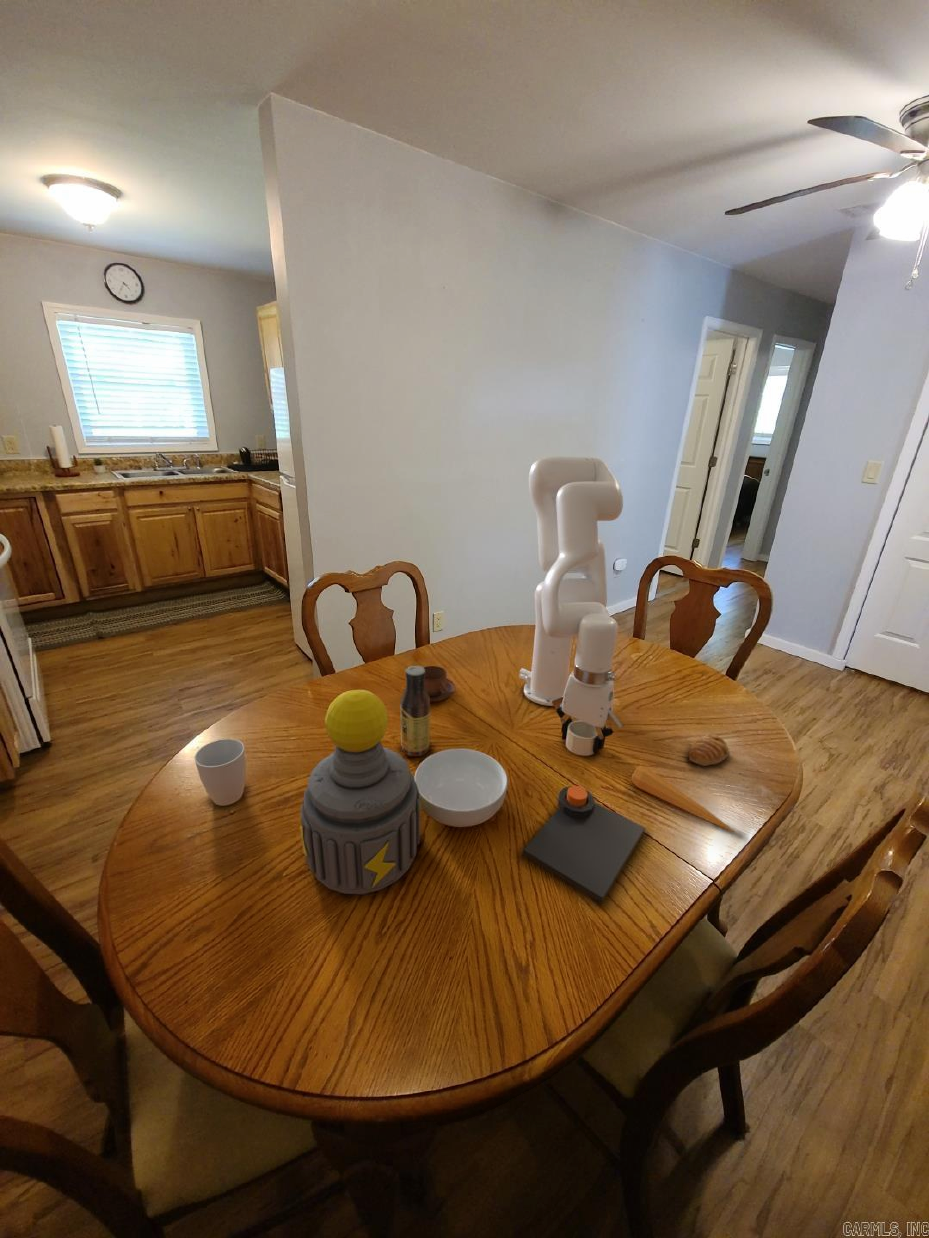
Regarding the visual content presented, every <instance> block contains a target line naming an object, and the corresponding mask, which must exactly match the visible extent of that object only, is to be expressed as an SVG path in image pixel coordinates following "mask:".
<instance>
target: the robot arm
mask: <svg viewBox="0 0 929 1238" xmlns="http://www.w3.org/2000/svg"><path fill="white" fill-rule="evenodd" d="M528 490H529V491H528V492H529V496H530V500H531V503H532V506H533V510H534V512H535V515H536V525H537V527H536V528H537V529H536V531H537V549H538V562H539V566H540V568H541V570H542V571H543V572H545V573H547V574H546V575H545V578H544V580H543V581H541V582H539V584H538V585H537V586H535V587H536V588H535V590H534V608H535V627H534V628H535V629H534V641H533V650H532V660H531V661H532V663H531V671H530V670H528V669H525V668H523V667H522V668H520V670H519V675H518V679H519V680H521V681H525V684H524V686H523V694H524V696H525V697H526V698H527V699H528V700H529V701H531V702H532V703H535V704H537V705H541V706H547V707H554V709H555V711H556V714H557V715H558V717H559V718H560V723H561V730H560V732H561V733H562V734H561V739H562V740H566V737H567V730H568V725H569V724H570V723H571V722H573V721H574V720H573V718H574V719H576V720H577V721H583V722H586V723H588V724H591V725H593V726H595V729H596V732H597V736H596V737H595V741H594V748H593V752H594V754H597V753H598V752H599V751H602V750H603V749H604V746H605V741H606V738H607V737H610V736H612V735H613V734H615V733H617V732H619V731H620V730H621V729H622V728H623V724H622V723H621V722H620V720H619V719H618V717H617V716H616V715H615V713H614V702H615V685H614V682H616V681H617V678H618V675H617V674H615V673H613V662H614V657H615V656H614V655H615V649H616V643H617V637H618V630H619V625H618V622H617V620H616V619H615V618H613V617H612V616H610V613H609V611H608V609H607V608H606V607H607V603H608V602H607V601H608V587H607V565H606V564H607V563H606V551H605V547H604V544H603V541H602V539H600V537H599V531H598V530H599V529H598V522H611V521H615V520H616V519H618V518H619V517H620V516H621V514H622V511H623V509H624V508H623V507H624V498H623V497H624V496H623V492H622V488H621V486H620V484H619V482H618V480H617V479H616V477H615V475H614V474H613V472H612V471H611V470H610V469H609V467H608V466H607V464H606V462H605V461H603V460H602V459H601V458H598V457H589V456H587V457H586V456H585V457H583V456H582V457H581V456H548V457H547V456H546V457H542V458H539V459H537V460H536V461H535V462H533V463H532V464H531V467H530V469H529V473H528ZM567 574H580V575H581V578H579V577H578V578H576V577H575V578H572V577H571V578H570V577H569V578H567V577H565V575H567ZM564 577H565V578H564ZM574 638H577V641H576V648H575V656H574V663H573V670H572V671H571V672H570V667H571V658H572V650H573V641H574ZM607 721H608V722H609V723H610V724H611V726H609V727H608V725H607Z"/></svg>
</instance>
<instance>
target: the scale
mask: <svg viewBox="0 0 929 1238" xmlns="http://www.w3.org/2000/svg"><path fill="white" fill-rule="evenodd" d="M571 786H572V785H568V786H565V787H563V788H562V789H561V790H560V791H559V792H558V796H557V806H558V809H557V810H556V812H554V813H553V815H552V816H551V817H550V818H549V819H548V820H547V822H546V823H545V824H544V825H543V827H542V828H541V829H540V830H539V831H538V832H537V833H536V835H534V837H533V838H532V839H531V840H530V841H529V843H528V844H527V845H526V846H525V847H524V849H523V852H522V856H523V857H525V858H526V859H528V860H529V861H531V862H532V863H534V864H535V865H537V866H539V867H540V868H542V869H544V870H546V871H547V872H549V874H552V875H553V876H555V877H557V878H559V879H560V880H561V881H563V882H565V883H567V884H568V885H570V886H571V887H572V888H574V889H576V890H578V891H579V892H581V893H583V894H584V895H585V896H587V897H589V898H590V899H592V900H594V901H595V902H597V903H599V904H600V905H602V904H603V903H604V901H605V900H606V898H607V896H608V895H609V893H610V892H611V890H612V888H613V886H614V884H615V883H616V882H617V880H618V878H619V876H620V875H621V873H622V871H623V869H624V868H625V866H626V865H627V863H628V861H629V860H630V858H631V856H632V854H633V853H634V851H635V849H636V848H637V846H638V844H639V843H640V841H641V839H642V838H643V837H644V834H645V832H646V831H645V830H646V827H644V826H642V825H641V824H639V823H636V822H635V821H632V820H631V819H628V818H627V817H625V816H623V815H620V814H619V813H617V812H614V810H613V811H612V810H610V809H609V808H606V807H604V806H602V805H601V804H599V803H596V801H595V797H594V795H593V794H592V793H591V792H590V791H589V790H588V789H585V790H586V791H587V794H588V795H587V801H586V804H585V805H584V806H582V807H577V806H573V805H571V804H569V803H568V801H567V791H568V788H569V787H571Z"/></svg>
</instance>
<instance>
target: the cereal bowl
mask: <svg viewBox="0 0 929 1238" xmlns="http://www.w3.org/2000/svg"><path fill="white" fill-rule="evenodd" d="M413 777H414V780H415V782H416V784H417V787H418V790H419V794H420V804H421V807H422V811H423V812H425V814H426V815H428V817H430V818H431V819H433V820H434V821H436V822H438V823H439V824H442V825H445V826H449V827H455V828H466V827H467V828H469V827H474V826H478V825H481V824H482V823H484V822H486V821H488V820H490V819H491V818H493V817H494V815H496V813H497V812H498V811H499V810H500V809H501V807H502V806H503V804H504V801H505V799H506V795H507V791H508V782H509V781H508V775H507V773H506V771H505V768H504V767H503V766H502V765H501V763H500V762H499V761H498V760H496V759H495V758H493V757H492V756H490V755H488V754H486V753H484V752H482V751H478V750H474V749H469V748H450V749H444V750H440V751H438V752H435V753H433V754H430V755H429V756H427V757H426V758H425V759H424V760H423V761H422V762H421V763H419V765H418V767H417V768H416V770H415V773H414V776H413Z"/></svg>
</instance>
